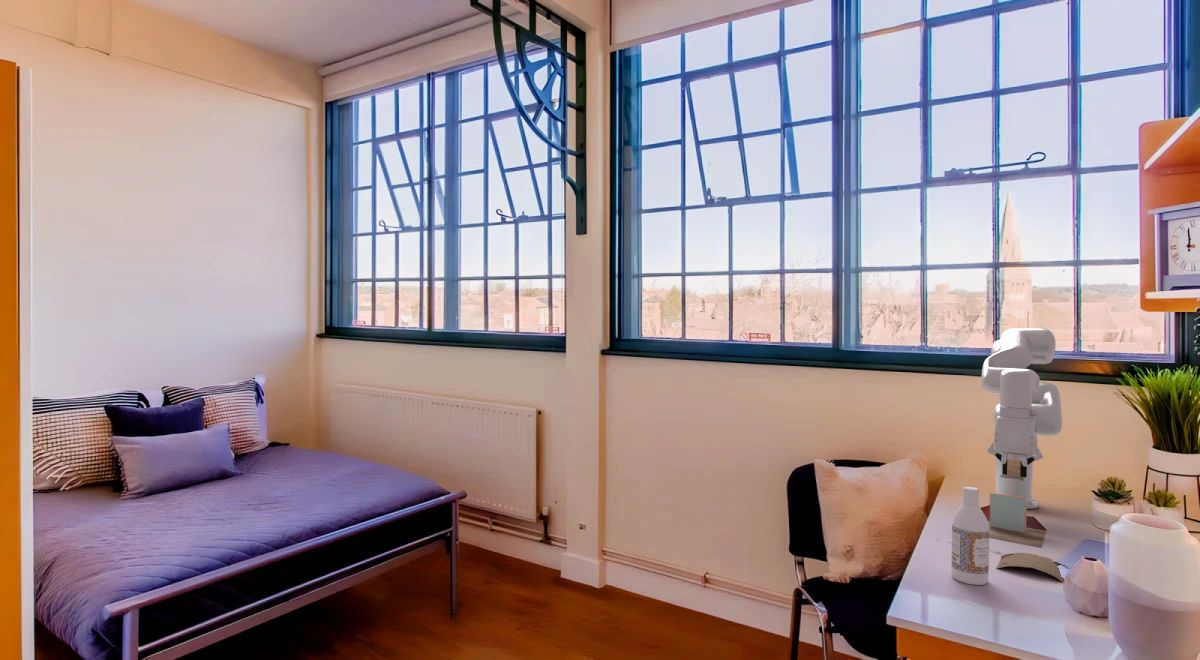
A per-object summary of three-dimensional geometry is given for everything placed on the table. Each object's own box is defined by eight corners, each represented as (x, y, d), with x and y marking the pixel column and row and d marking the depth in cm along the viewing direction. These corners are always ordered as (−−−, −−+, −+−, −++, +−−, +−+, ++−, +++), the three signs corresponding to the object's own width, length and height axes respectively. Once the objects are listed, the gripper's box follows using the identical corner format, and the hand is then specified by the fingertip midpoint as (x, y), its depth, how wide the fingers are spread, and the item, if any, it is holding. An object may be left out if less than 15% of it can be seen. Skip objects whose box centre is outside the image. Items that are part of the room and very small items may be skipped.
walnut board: (983, 525, 173) (983, 520, 173) (1045, 536, 164) (1045, 530, 164) (974, 540, 160) (974, 534, 160) (1041, 553, 151) (1041, 547, 151)
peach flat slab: (990, 525, 168) (990, 492, 168) (1026, 531, 163) (1026, 497, 163) (989, 526, 167) (989, 493, 167) (1025, 533, 162) (1025, 498, 162)
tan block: (1005, 476, 181) (1006, 458, 181) (1026, 478, 178) (1026, 461, 178) (1000, 477, 171) (1001, 458, 172) (1022, 480, 168) (1022, 461, 169)
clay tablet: (1070, 572, 142) (1070, 560, 142) (1071, 587, 134) (1071, 574, 134) (995, 558, 150) (995, 546, 150) (991, 571, 142) (991, 559, 142)
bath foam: (969, 587, 132) (970, 493, 131) (944, 574, 138) (945, 484, 138) (996, 584, 133) (997, 491, 133) (970, 571, 140) (971, 483, 140)
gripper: (1051, 415, 174) (1050, 481, 174) (983, 409, 184) (982, 472, 184) (1050, 417, 168) (1049, 485, 168) (979, 412, 178) (978, 476, 178)
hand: (1014, 478), depth 176 cm, fingers closed on tan block, 3 cm apart
